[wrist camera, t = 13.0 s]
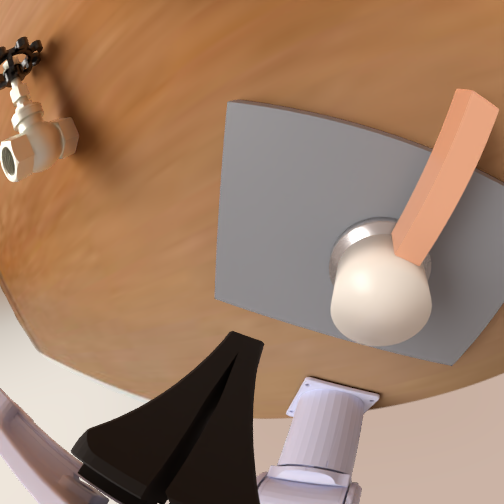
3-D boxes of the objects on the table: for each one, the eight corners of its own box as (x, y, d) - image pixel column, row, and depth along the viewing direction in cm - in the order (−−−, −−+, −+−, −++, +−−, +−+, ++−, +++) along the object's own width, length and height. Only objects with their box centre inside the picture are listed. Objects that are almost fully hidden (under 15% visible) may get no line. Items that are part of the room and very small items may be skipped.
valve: (95, 137, 19) (53, 32, 15) (29, 166, 14) (-9, 42, 9) (62, 169, 23) (25, 75, 18) (8, 199, 17) (-28, 91, 13)
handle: (394, 318, 16) (395, 356, 14) (323, 289, 17) (314, 326, 14) (508, 124, 8) (540, 138, 6) (421, 68, 9) (439, 65, 6)
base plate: (450, 351, 19) (452, 372, 17) (222, 286, 23) (210, 304, 21) (541, 205, 11) (557, 221, 9) (238, 99, 15) (221, 102, 13)
